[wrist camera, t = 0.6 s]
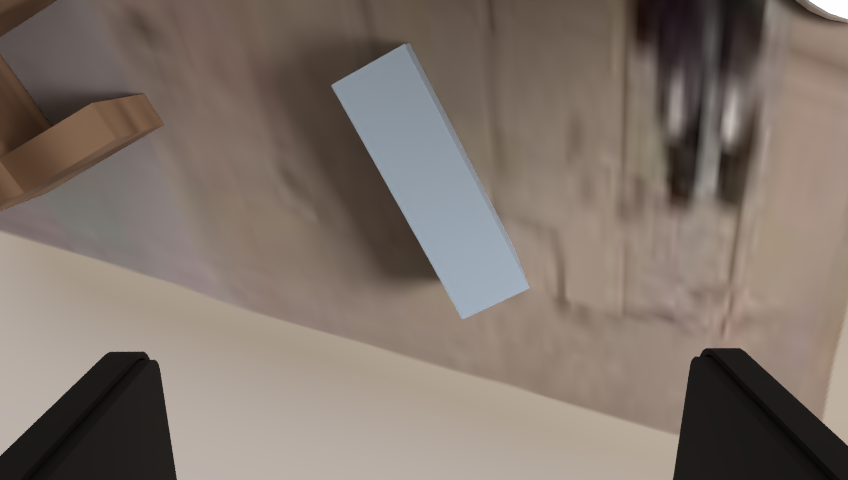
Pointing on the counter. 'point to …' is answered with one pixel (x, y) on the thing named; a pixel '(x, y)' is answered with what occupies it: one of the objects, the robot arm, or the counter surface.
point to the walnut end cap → (56, 128)
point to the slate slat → (432, 180)
